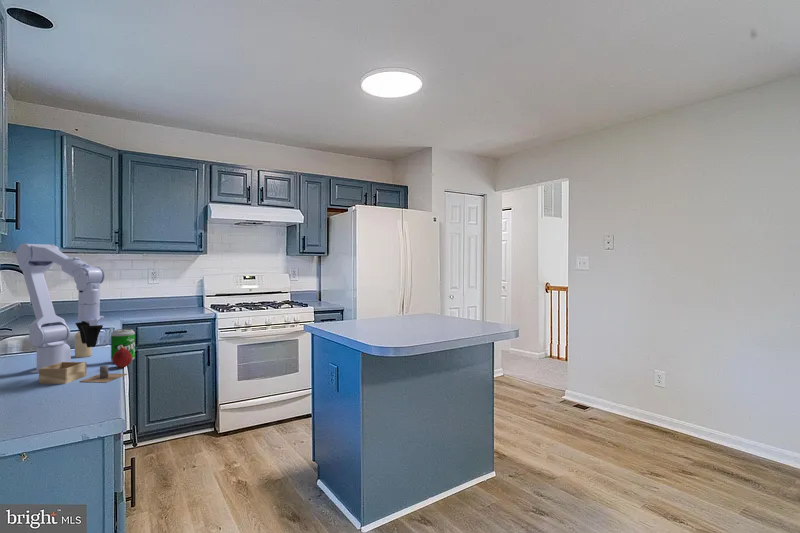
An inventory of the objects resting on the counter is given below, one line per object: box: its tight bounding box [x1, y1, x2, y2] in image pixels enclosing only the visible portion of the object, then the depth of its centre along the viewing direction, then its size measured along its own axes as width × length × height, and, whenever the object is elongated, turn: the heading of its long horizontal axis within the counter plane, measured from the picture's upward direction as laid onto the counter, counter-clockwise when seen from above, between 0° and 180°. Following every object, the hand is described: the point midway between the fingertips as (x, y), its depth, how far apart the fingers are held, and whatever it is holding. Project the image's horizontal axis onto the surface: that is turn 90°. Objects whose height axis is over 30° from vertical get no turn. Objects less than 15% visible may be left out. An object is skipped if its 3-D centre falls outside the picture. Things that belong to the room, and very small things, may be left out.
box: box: [38, 361, 87, 385], centre depth 136 cm, size 9×8×5 cm
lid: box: [79, 365, 128, 384], centre depth 138 cm, size 10×9×5 cm
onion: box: [112, 346, 133, 369], centre depth 152 cm, size 6×6×8 cm
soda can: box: [110, 328, 136, 363], centre depth 162 cm, size 8×8×12 cm
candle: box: [74, 330, 93, 358], centre depth 171 cm, size 6×6×10 cm
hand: (88, 345), depth 142 cm, fingers open, 7 cm apart
